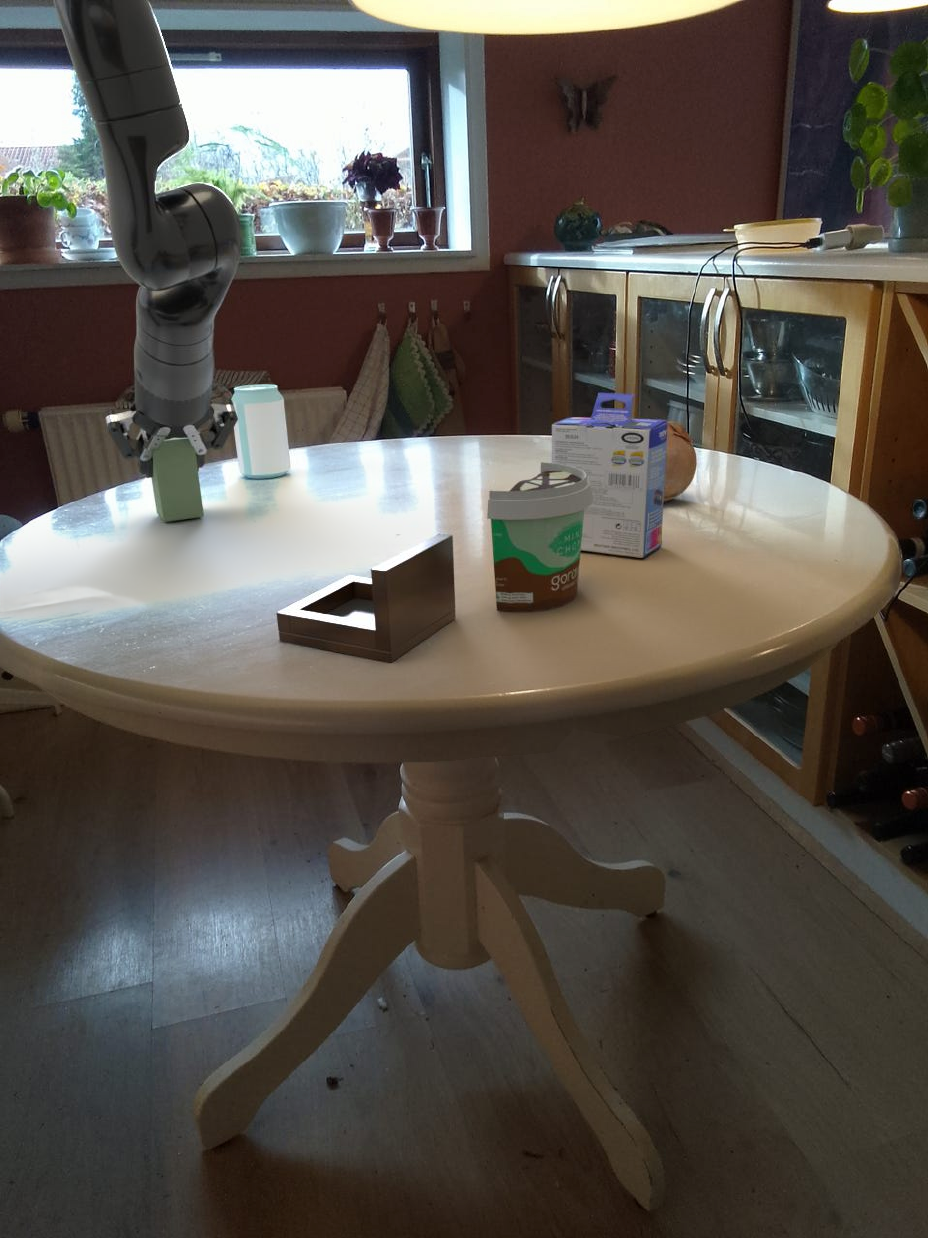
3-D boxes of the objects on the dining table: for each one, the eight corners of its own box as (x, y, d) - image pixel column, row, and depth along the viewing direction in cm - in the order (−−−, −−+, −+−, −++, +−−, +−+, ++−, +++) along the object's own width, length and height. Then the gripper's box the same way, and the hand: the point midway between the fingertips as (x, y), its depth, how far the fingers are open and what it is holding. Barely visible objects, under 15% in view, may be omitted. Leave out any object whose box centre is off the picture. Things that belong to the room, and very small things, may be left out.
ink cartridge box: (664, 545, 87) (672, 393, 82) (646, 560, 83) (653, 401, 77) (570, 534, 92) (572, 389, 86) (548, 548, 87) (548, 397, 82)
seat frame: (279, 641, 67) (269, 554, 65) (351, 601, 75) (345, 522, 72) (391, 663, 63) (385, 571, 60) (456, 618, 70) (452, 535, 68)
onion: (680, 521, 106) (724, 445, 103) (652, 518, 98) (698, 435, 95) (617, 484, 110) (656, 409, 107) (584, 478, 102) (626, 397, 99)
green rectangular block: (163, 522, 101) (151, 442, 97) (156, 512, 105) (144, 435, 102) (204, 516, 102) (193, 437, 99) (195, 507, 107) (185, 432, 103)
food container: (563, 626, 68) (564, 497, 64) (489, 616, 70) (486, 492, 67) (609, 577, 78) (612, 464, 75) (543, 570, 81) (543, 460, 77)
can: (264, 467, 129) (254, 382, 125) (301, 471, 126) (292, 384, 121) (229, 477, 124) (217, 388, 119) (266, 481, 120) (256, 390, 116)
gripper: (236, 335, 93) (224, 436, 108) (90, 343, 87) (99, 449, 102) (254, 392, 91) (240, 487, 105) (106, 405, 85) (112, 503, 99)
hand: (170, 468), depth 103 cm, fingers closed on green rectangular block, 4 cm apart
